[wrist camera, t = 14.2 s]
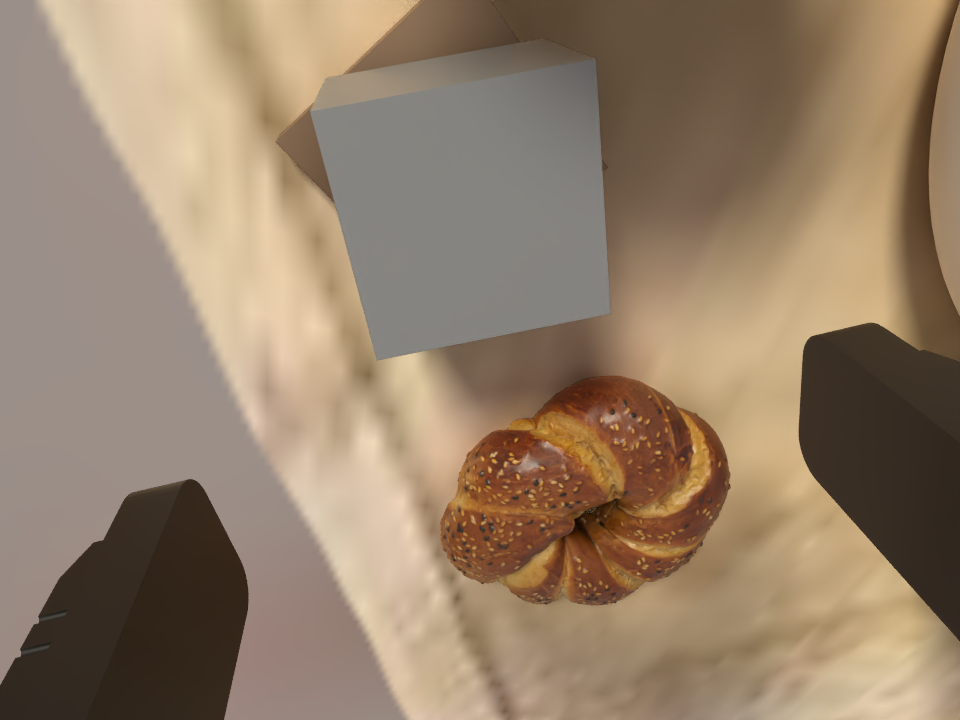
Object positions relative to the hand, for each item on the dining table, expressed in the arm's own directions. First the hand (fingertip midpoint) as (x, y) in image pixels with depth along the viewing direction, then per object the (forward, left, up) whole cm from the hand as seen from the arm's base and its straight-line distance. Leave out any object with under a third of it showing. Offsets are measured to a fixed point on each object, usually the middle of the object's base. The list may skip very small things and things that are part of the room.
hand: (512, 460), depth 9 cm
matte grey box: (0, -1, -12) cm, 12 cm away
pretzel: (-14, +4, -15) cm, 21 cm away
